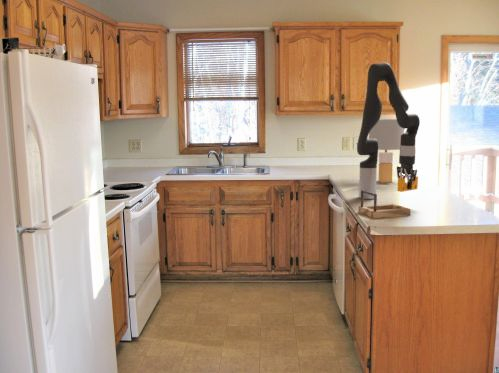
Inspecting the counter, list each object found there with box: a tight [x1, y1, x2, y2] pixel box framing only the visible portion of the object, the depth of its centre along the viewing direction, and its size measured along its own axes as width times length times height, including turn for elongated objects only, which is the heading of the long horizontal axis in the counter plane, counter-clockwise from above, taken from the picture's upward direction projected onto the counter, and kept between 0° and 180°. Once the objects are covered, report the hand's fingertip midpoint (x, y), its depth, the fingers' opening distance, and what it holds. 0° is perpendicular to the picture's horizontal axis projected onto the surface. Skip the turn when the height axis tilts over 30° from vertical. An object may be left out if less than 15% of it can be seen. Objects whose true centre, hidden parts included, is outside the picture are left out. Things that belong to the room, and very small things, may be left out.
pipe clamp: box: [397, 175, 419, 192], centre depth 261 cm, size 12×4×6 cm, turn 124°
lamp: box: [368, 118, 405, 184], centre depth 349 cm, size 23×23×42 cm
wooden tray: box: [358, 190, 412, 219], centre depth 249 cm, size 15×19×11 cm
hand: (405, 188), depth 262 cm, fingers closed on pipe clamp, 5 cm apart
